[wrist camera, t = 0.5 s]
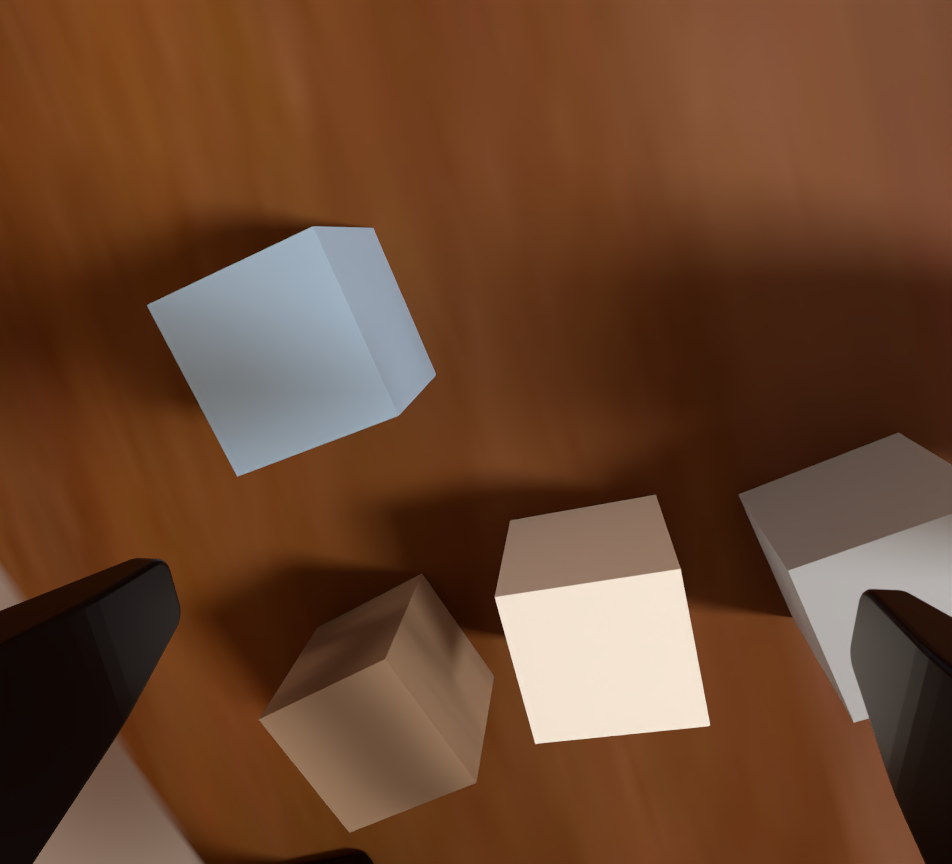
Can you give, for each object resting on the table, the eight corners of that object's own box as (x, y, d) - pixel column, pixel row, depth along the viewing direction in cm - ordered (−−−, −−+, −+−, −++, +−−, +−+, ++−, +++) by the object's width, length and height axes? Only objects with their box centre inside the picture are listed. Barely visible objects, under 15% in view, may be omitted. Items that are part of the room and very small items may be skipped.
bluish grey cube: (307, 424, 22) (237, 476, 17) (241, 288, 21) (146, 305, 16) (436, 374, 21) (398, 415, 16) (373, 227, 20) (312, 226, 15)
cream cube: (541, 640, 23) (535, 743, 19) (510, 519, 22) (494, 597, 17) (680, 622, 22) (710, 726, 18) (655, 493, 21) (680, 568, 16)
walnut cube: (389, 721, 26) (349, 832, 21) (318, 626, 25) (258, 719, 20) (494, 674, 24) (476, 782, 19) (422, 572, 23) (385, 659, 19)
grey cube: (791, 615, 22) (853, 722, 17) (737, 493, 21) (788, 570, 16) (946, 564, 20) (1060, 664, 16) (897, 432, 19) (1002, 495, 15)
